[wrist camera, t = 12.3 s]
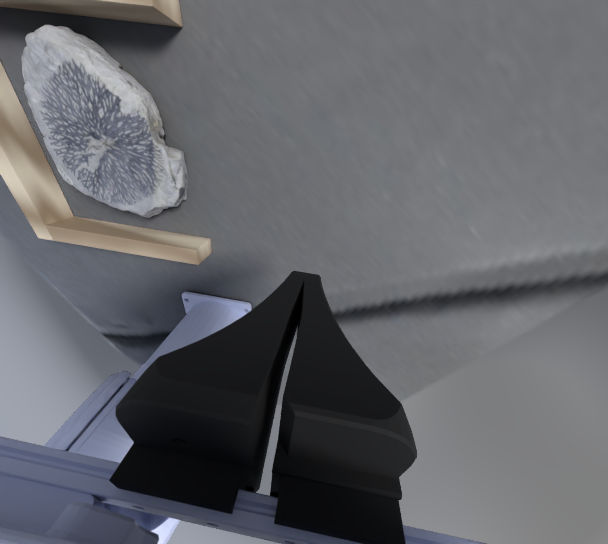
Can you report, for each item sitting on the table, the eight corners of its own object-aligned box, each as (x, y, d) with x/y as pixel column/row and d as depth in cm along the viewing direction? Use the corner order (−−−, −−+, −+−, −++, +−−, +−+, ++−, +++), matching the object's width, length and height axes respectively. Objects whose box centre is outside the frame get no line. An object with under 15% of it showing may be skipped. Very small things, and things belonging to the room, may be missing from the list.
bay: (212, 252, 21) (198, 264, 19) (66, 228, 22) (38, 237, 20) (177, -11, 12) (144, -41, 10) (-67, -37, 13) (-145, -70, 11)
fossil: (200, 182, 15) (99, 248, 17) (220, 183, 19) (136, 238, 21) (67, -16, 12) (-44, 93, 13) (124, 34, 16) (32, 114, 17)
